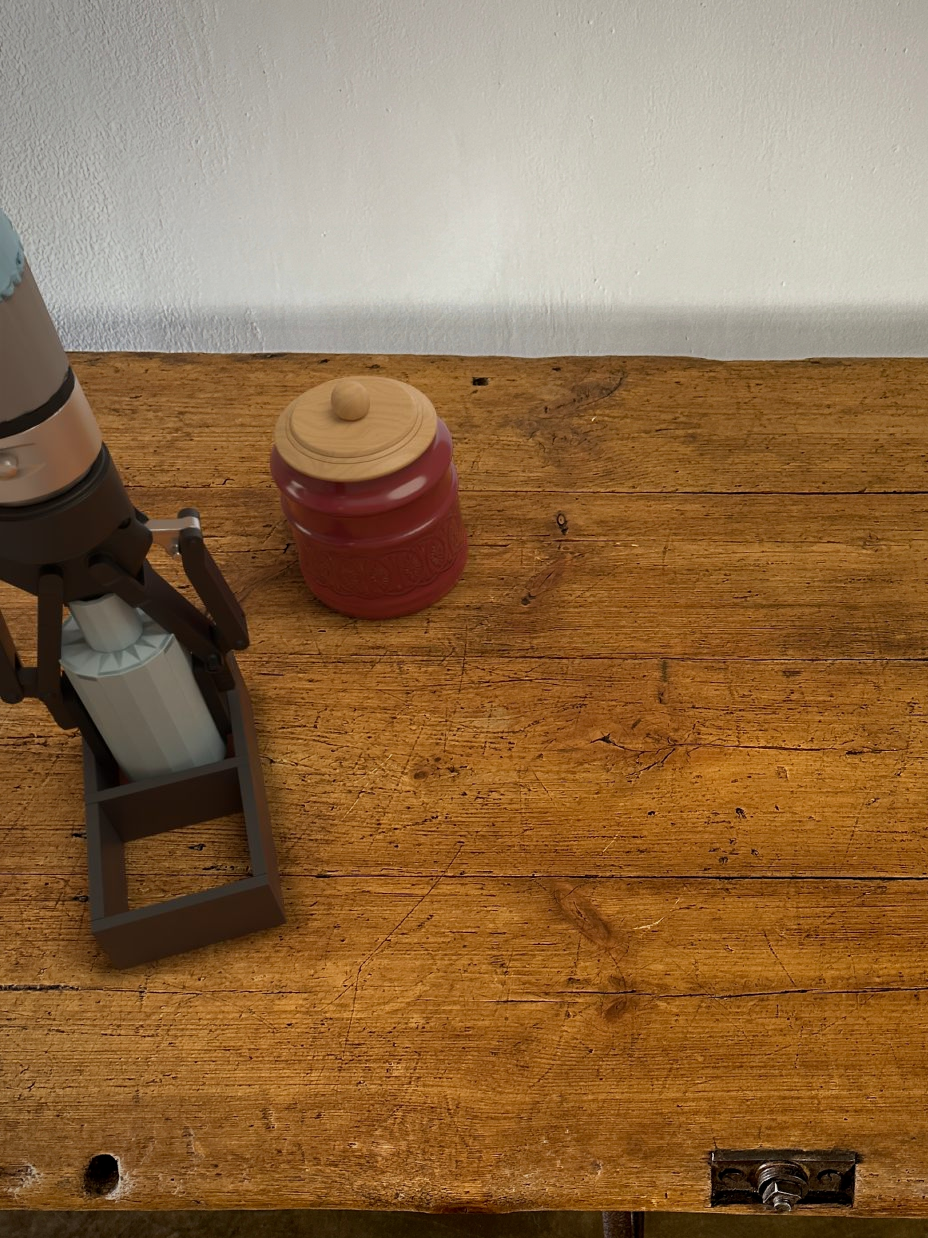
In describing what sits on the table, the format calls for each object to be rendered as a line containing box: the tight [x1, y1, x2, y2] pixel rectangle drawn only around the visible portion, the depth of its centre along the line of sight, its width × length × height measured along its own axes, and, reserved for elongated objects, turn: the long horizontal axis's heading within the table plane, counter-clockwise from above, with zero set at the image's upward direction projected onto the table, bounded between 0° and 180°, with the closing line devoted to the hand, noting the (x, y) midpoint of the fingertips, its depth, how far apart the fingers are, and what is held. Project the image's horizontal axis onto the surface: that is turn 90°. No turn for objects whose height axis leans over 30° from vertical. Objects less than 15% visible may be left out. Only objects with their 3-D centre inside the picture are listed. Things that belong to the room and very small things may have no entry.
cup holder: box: [80, 650, 288, 972], centre depth 78 cm, size 19×10×6 cm, turn 19°
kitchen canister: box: [269, 375, 470, 621], centre depth 89 cm, size 13×13×18 cm
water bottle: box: [59, 593, 228, 783], centre depth 75 cm, size 7×7×16 cm
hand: (166, 733), depth 79 cm, fingers closed on water bottle, 7 cm apart
